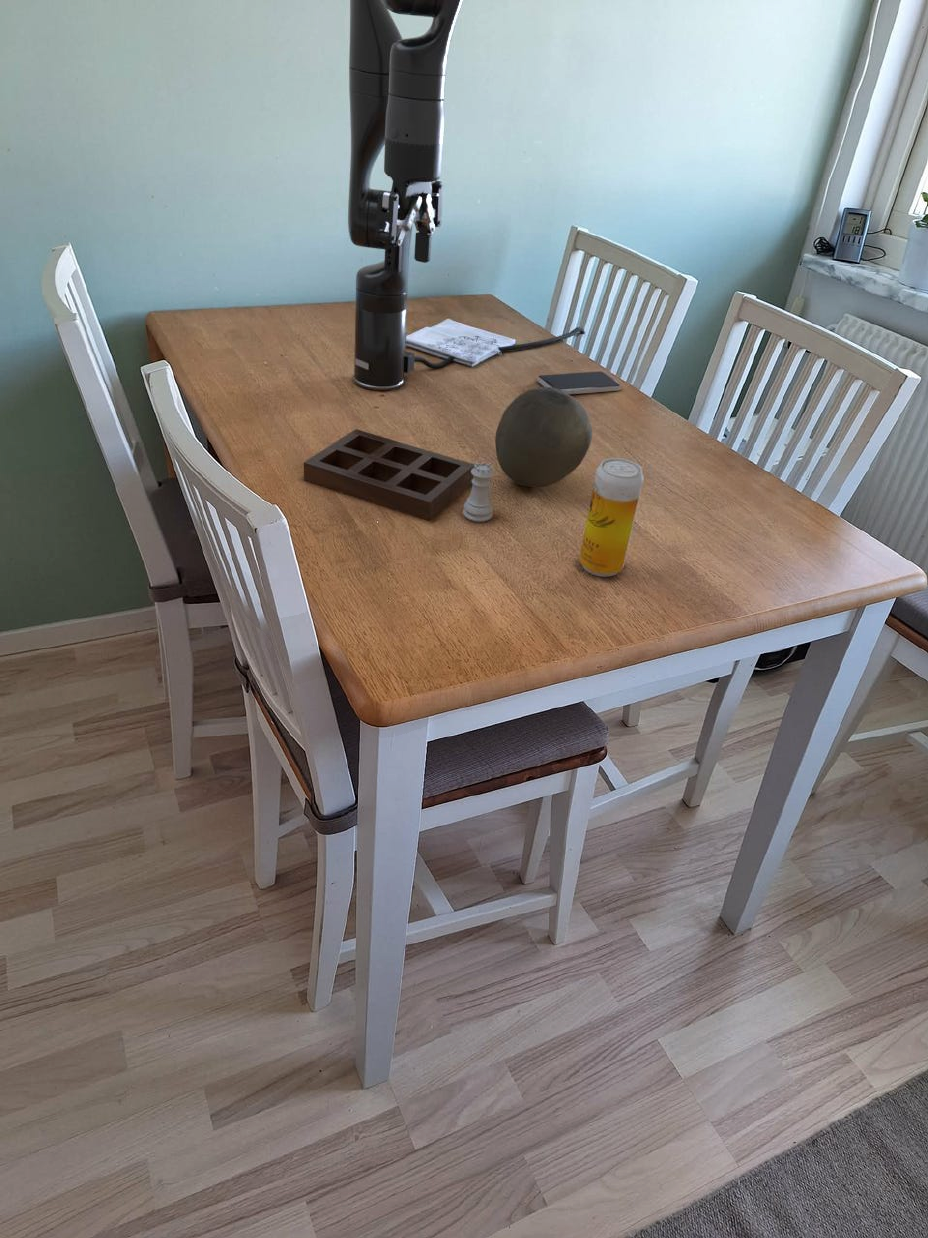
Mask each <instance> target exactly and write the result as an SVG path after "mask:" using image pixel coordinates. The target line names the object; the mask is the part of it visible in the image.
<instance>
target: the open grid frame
mask: <svg viewBox="0 0 928 1238" xmlns="http://www.w3.org/2000/svg"><path fill="white" fill-rule="evenodd" d="M474 465H476V463H475V464H474V463H471V462H467V461H465V460H462V459H459V458H454V457H451V456H448V455H444V454H441V453H438V452H435V451H432V450H428V449H424V448H421V447H418V446H415V445H410V444H407V443H404V442H400V441H398V440H394V439H390V438H388V437H384V436H380V435H377V434H374V433H370V432H367V431H363V430H360V429H358V428H356V429H354V430H352V431H351V432H349V433H347V434H346V435H344V436H343V437H341V438H339V439H338V440H336V441H334V443H331V444H330V445H328V446H327V447H325V448H323V449H322V450H320V451H319V452H317V453H316V454H314V455H312V456H311V457H309V458H308V459H307V460H304V461H303V480H304V481H306V482H309V483H312V484H314V485H318V486H321V487H324V488H328V489H331V490H334V491H337V492H340V493H343V494H346V495H349V496H352V497H355V498H358V499H361V500H364V501H367V502H370V503H374V504H375V505H381V506H383V507H386V508H389V509H392V510H395V511H398V512H401V513H404V514H407V515H411V516H413V517H417V518H420V519H423V520H426V521H431V519H432V518H434V517H435V516H436V515H437V514H438V513H439V512H441V511H442V510H443V509H444V508H445V507H447V506H448V504H450V503H451V502H452V501H453V500H454V499H455V498H457V497H458V496H459V495H460V494H461V493H462V492H464V491H465V490H466V489H467V488H468V487H469V486H470V485H471V484H473V483H472V479H473V478H474V476H473V475H472V473H471V470H472V469H473V468H474Z"/></svg>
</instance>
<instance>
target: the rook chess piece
mask: <svg viewBox="0 0 928 1238" xmlns="http://www.w3.org/2000/svg"><path fill="white" fill-rule="evenodd" d="M471 473H472V475H473V476H474V478H473V479H472V483H471V484H472V486H471V491H470V494H469V496H468V498H467V499H466V501H465V502H464V504H463V509H462V514H463V516H464V517H465V518H466V520H468V521H470V522H474V523H485V522H488V521H490V520H491V518H492V517H493V516H494V512H493V511H494V505H493V504H492V501H491V499H490V485H492V481H491V478H492V477H493V476H494V474H495V473H494V471H493V466H491V464H490V463H486V464H485V462H484V461H481V462H476V463H475V465H474V468H473V469H472V470H471Z"/></svg>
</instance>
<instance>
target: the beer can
mask: <svg viewBox="0 0 928 1238" xmlns="http://www.w3.org/2000/svg"><path fill="white" fill-rule="evenodd" d="M643 485H644V475H643V468H642V467H641V465H640V464H639V463H637V462H635V461H632V460H630V459H627V458H621V457H610V458H605V459H604V460H602V461H601V463H600V465H599V466H598V467H597V468H596V470H595V476H594V480H593V486H592V490H591V491H592V492H591V497H590V502H589V507H588V512H587V517H586V523H585V527H584V532H583V538H582V543H581V548H580V553H579V562H580V563H581V566H582V568H583V569H584V570H585V571H586V572H587V573H589V574H591V575H593V576H597V577H603V578H606V577H613V576H615V575H617V574H618V573H619V572H621V571H622V570H623V569H624V567H625V563H626V559H627V555H628V549H629V546H630V541H631V536H632V532H633V528H634V523H635V520H636V515H637V510H638V505H639V501H640V497H641V494H642V493H641V492H642V489H643V488H642V487H643Z"/></svg>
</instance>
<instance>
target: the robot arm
mask: <svg viewBox="0 0 928 1238" xmlns="http://www.w3.org/2000/svg"><path fill="white" fill-rule="evenodd" d="M463 2H464V0H349V51H348V52H349V54H348V58H349V59H348V80H349V81H348V90H349V120H350V122H349V123H350V124H349V125H350V163H349V164H350V165H349V181H348V182H349V184H348V185H349V187H348V203H347V205H348V206H347V225H348V226H347V228H348V236H349V239H350V241H351V243H352V244H353V245H355V246H357V247H361V248H367V249H368V248H370V249H376V250H377V249H378V250H384V260H383V261H380V262H377V263H373V264H368V265H365V266H363V267H361V268H359V269H358V270H357V272H356V275H355V309H354V311H355V314H354V318H355V319H354V361H353V363H354V364H353V366H354V369H353V372H354V373H353V382H354V383H355V384H356V385H357V386H359V387H361V388H365V389H367V390H373V391H390V390H391V391H392V390H396V389H398V388H400V387H402V386H403V384H404V379H405V374H410V372H413V371H414V370H415V362H416V363H421V364H423V365H425V366H426V367H428V368H430V369H440V368H443V367H446V366H447V365H448V364H450V363H452V362H454V361H453V360H454V357H452V356H451V357H449V358H447V359H444V360H442V361H440V362H437V363H435V362H431V361H430V360H428V359H426V358H425V357H421V356H416V354H415V353H413V352H410V351H406V349H407V346H406V336H407V329H406V328H407V307H408V306H407V305H408V291H409V290H408V287H409V283H408V282H409V269H410V254H411V244H412V233H413V226H415V230H416V231H417V232H415V237H414V238H415V240H414V255H413V258H414V260H415V261H416V262H419V263H424V264H427V263H429V262H430V261H431V253H432V238H433V235H434V234H435V232H436V228H441V226H442V217H443V216H442V215H443V214H442V213H443V191H444V183H443V181H439V179H441V176H442V165H443V164H442V163H443V149H444V134H445V91H446V89H445V88H446V77H447V76H446V74H447V62H448V57H449V52H450V47H451V43H452V37H453V35H454V32H455V31H454V30H455V29H456V25H457V21H458V17H459V15H460V13H461V9H462V6H463V4H464V3H463ZM390 12H392V13H394V14H397V15H404V16H415V17H425V18H432V23H431V25H430V27H429V29H428V30H426V32H425V33H424V34H422V35H419V36H415V37H409V38H403V36H402V35H401V32H400V30H399V28H398V26H397V24H396V22H395V20H394V19H393V16H392V15H391V13H390ZM383 148H384V155H383V156H384V157H383V159H384V160H383V171H384V174H385V175H386V176H387V177H389V178H390V179H391V180H392V182H391V183H392V184H391V189H390V190H383V189H374V188H371V177H372V171H373V169H374V166H375V164H376V163H377V160H378V157H379V156H380V154H381V152H382V150H383ZM413 224H414V225H413ZM577 333H580V334H582V335H585V334H586V331H585V329H584V328H583V327H582V326H577V327H575V328H574V329H572V330H571V331H570V332H567V333H564V334H561V335H558V336H555V337H551V338H547V339H543V340H538V341H532V342H526V343H519V344H514V345H512V346H505V347H499V348H498V350H499V351H500V352H501V353H502V352H510V351H517V350H523V349H529V348H535V347H540V346H545V345H549V344H554V343H556V342H559V341H563V340H566V339H569V338H571V337H573V336H574V335H576V334H577ZM500 352H499V353H500Z"/></svg>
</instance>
